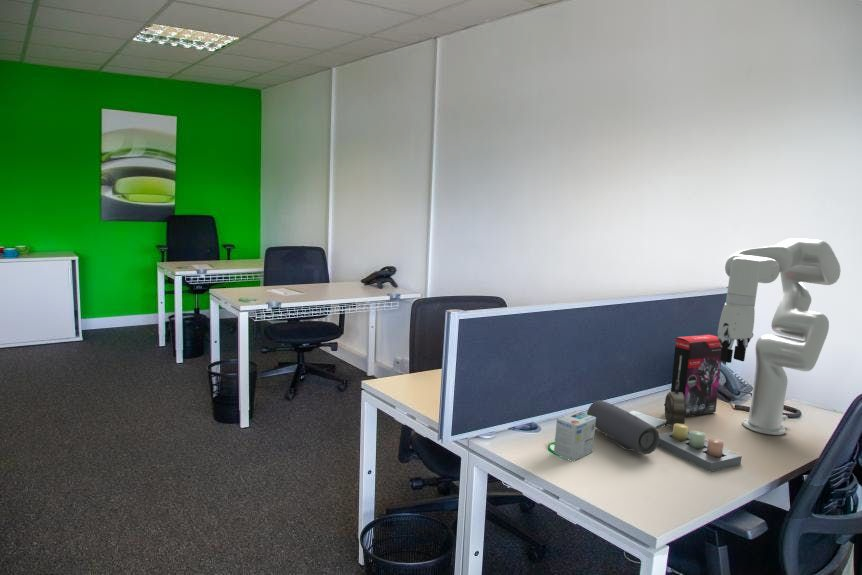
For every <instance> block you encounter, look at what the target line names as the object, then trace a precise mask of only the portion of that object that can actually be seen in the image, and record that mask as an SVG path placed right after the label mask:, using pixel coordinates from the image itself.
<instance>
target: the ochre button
mask: <svg viewBox="0 0 862 575" xmlns="http://www.w3.org/2000/svg"><path fill="white" fill-rule="evenodd" d="M672 427H673V430H672V432H673V435H672V438H674V439H676V440H678V441H686V440H687V432H688V431H689V426H688V425H686V424H685V423H684V424H679V423H676V424H674V426H672Z"/></svg>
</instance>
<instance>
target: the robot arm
mask: <svg viewBox="0 0 862 575" xmlns="http://www.w3.org/2000/svg"><path fill="white" fill-rule="evenodd" d="M724 270H725V273H726V276H727V277H729V278H728V285H727V293H726V298H725V299H726V300H725V303H724V305H723V308H722V311H721V314H720V318H719V323H718V329H717V336H716V337H717V339H718V340H719V341H720V343H721V347H722V351H721V359H720V360H721V362H724V363H728V364H730V363H732V358H733V360H736V361H739V362H744V361H745V360H746V359H745V358H746V353H747V348H748V346H749V345H748V344H749V343H750V342H751V340H752V338H754V333H753V332H754V326H755V307H756V300H757V293H758V287H759V283H760V284H769V283H770V284H771V283H772V282H774V281H776V280H777V279H778V277H779V275H780V280H781V285H782V287H781V288H782V296H781V298H780V301H779V302H778V306H777V308H776V310H775V312H774V315H773V317H772V320H771V329H772V331H773V332H774V333H776V334H764V335H761V336H760V337H759V338H758V339H757V341H756V343H755V349H754V350H755V372H754V378H753V385H752V386H753V387H752V390H751V391H752V392H751V398H750V405H749V406H750V407H749V413H748V417H745V418H743V420H742V425H743V426H744V427H745V428H747V429H748V430H751V431H753V432H756V433H760V434H765V435H770V436H771V435H772V436H780V435H781V436H782V435H784V434H785V433H786V428H785V427H784V426H783V425H782V423H783V422H787V421H788V420H789V417H788V416H787V415H786V414H783V413H784V407H785V401H786V394H787V388H788V381H789V380H788V376H787V374H786V371H785V369H784V368H786V369H791V370H795V371H800V372H810V371H812V370H813V369H814V367H815V366H816V364H817V362H818V359H819V357H820V354H821V352H822V350H823V347H824V345H825V341H826V339H827V336H828V333H829V328H830V322H829V318H828V317H827V316H826V315H825V314H823V313H821V312H818V311H812V310H809V309H810V306H811V305H812V304H811V303H812V296H811V294H810V292H809V291H808V289H807V288H806V286H805V285H804V283H808V284H816V285H821V286H823V285H824V286H831V285H834V284H835V283H837V282H838V281H839V279H840V277H841V265H840V261H839V259H838V257H837V256H836V254H835V252H834V250H833V247H831V245H830V244H829V243H827V242H826V241H824V240H821V239H820V240H819V239H809V238H798V237H797V238H796V237H795V238H794V237H793V238H788V239H785V240H783V241H781V242H778V243H777V244H775V245H769V246H762V247H756V248H755V247H754V248H747V249H743V250H739V251H736V252H735V253H733V254H731V255H730V256H729V257H728V258H727V261H726V262H725V266H724ZM735 340H736V345H734V342H735ZM728 341H729V342H728ZM733 345H734V349H732V348H733Z"/></svg>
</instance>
